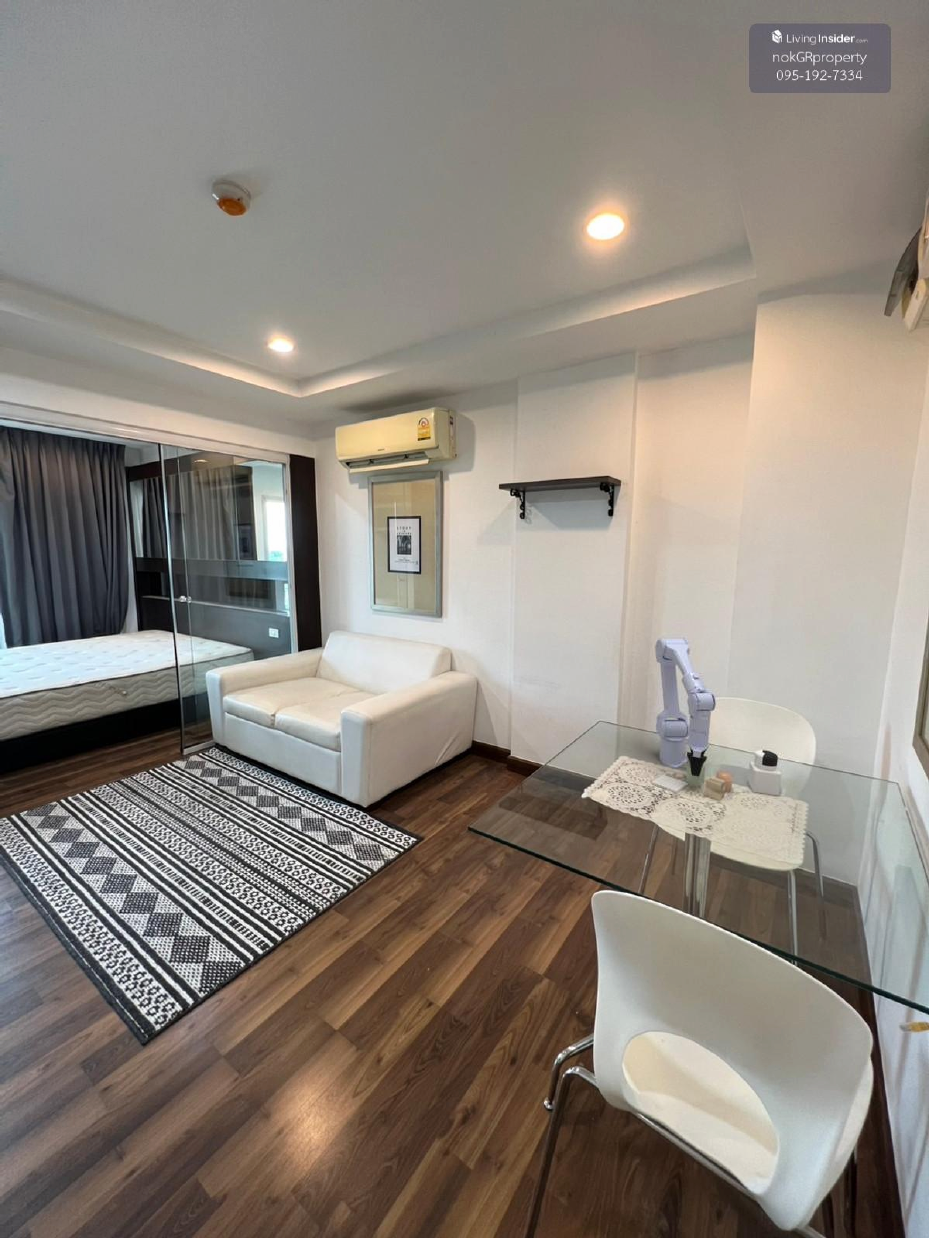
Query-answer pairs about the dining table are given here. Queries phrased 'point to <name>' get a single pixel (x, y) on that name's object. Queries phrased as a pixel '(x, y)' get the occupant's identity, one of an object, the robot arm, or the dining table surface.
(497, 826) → the dining table surface
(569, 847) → the dining table surface
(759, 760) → the medicine bottle
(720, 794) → the maple block
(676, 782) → the coaster
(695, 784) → the green block
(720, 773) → the terracotta cylinder
